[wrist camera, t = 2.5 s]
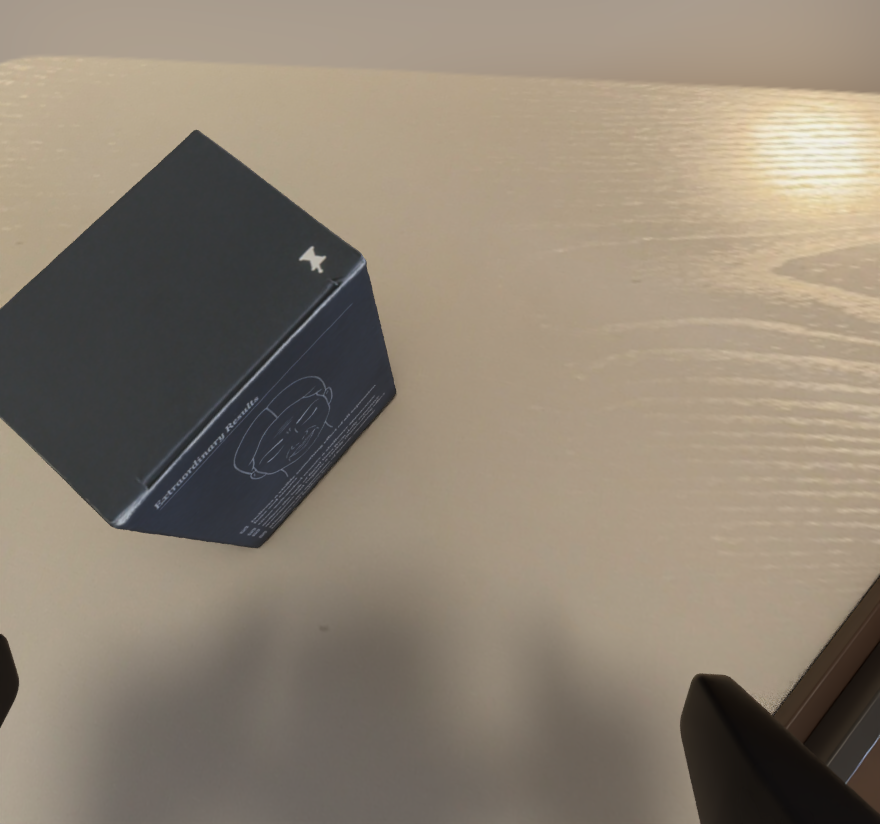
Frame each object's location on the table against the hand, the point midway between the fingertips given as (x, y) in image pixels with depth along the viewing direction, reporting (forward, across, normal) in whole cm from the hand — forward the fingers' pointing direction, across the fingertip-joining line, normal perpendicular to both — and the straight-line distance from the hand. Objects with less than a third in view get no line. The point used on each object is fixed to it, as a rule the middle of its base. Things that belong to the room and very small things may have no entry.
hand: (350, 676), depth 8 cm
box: (+15, +5, +4) cm, 17 cm away
